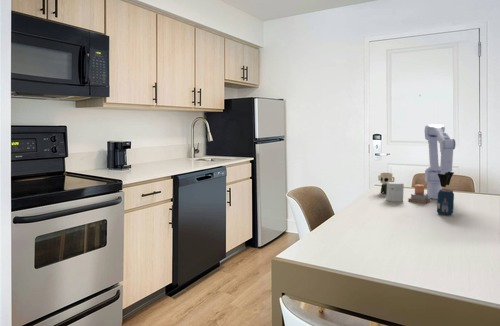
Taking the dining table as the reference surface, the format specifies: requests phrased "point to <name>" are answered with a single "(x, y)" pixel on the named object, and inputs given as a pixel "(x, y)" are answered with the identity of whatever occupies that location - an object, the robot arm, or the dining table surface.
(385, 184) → the big headed toy figurine
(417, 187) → the orange round piece
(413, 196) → the grey top slab
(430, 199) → the walnut base slab
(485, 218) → the dining table surface
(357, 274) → the dining table surface
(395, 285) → the dining table surface
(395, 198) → the small box
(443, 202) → the soda can
